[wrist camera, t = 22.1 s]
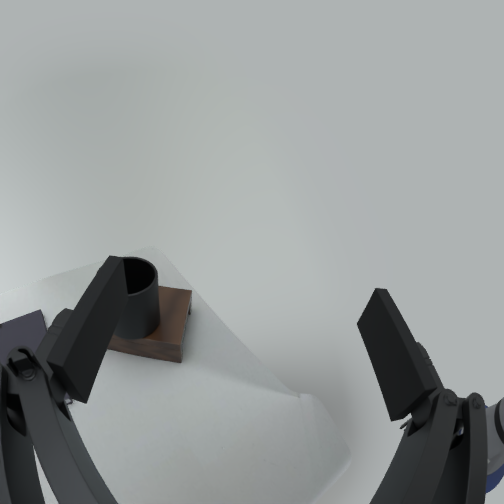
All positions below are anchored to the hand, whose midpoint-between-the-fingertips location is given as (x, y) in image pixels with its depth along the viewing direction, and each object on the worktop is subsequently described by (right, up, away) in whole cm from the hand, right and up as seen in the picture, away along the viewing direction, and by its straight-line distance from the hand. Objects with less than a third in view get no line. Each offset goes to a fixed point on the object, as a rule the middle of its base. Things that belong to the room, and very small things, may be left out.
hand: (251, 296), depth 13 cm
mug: (-19, -8, +28) cm, 35 cm away
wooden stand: (-19, -12, +32) cm, 39 cm away
